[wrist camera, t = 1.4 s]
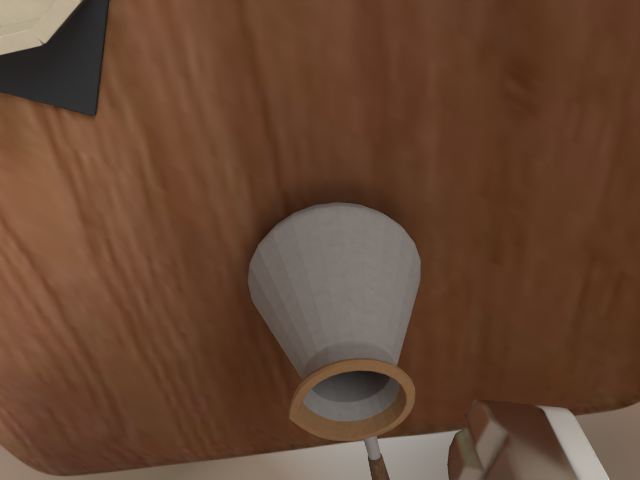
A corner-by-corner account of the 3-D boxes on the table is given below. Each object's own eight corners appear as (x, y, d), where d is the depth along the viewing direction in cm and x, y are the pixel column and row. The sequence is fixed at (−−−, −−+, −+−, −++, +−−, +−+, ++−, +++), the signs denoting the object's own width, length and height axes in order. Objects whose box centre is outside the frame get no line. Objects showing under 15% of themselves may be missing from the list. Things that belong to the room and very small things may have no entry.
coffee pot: (225, 205, 36) (204, 395, 24) (399, 163, 35) (470, 337, 23) (305, 402, 48) (318, 590, 36) (434, 375, 47) (491, 558, 35)
